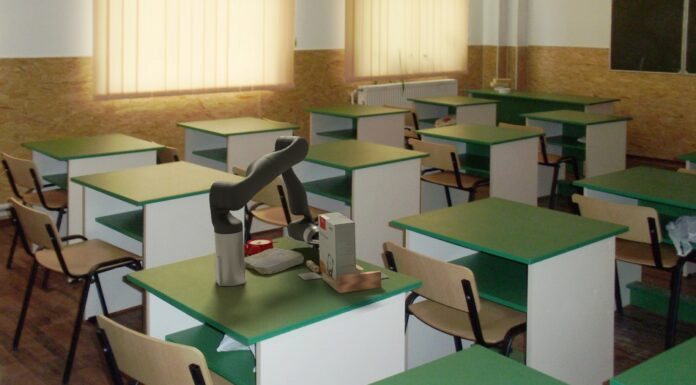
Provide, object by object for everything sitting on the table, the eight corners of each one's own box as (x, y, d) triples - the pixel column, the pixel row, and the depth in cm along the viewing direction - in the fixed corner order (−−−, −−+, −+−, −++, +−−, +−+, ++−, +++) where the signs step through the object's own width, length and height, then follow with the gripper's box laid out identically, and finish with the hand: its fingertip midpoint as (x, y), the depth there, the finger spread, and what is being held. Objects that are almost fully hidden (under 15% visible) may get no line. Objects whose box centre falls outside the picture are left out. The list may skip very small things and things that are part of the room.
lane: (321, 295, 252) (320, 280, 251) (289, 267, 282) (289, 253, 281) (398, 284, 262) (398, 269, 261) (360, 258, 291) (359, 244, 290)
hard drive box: (319, 271, 277) (317, 213, 273) (340, 268, 280) (338, 211, 276) (335, 284, 263) (333, 224, 259) (357, 281, 265) (356, 221, 261)
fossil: (232, 270, 286) (264, 276, 274) (231, 257, 285) (263, 263, 273) (275, 259, 300) (308, 265, 288) (274, 247, 299) (307, 252, 287)
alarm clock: (282, 240, 305) (254, 240, 293) (280, 257, 305) (252, 257, 293) (261, 236, 311) (233, 236, 299) (259, 253, 311) (231, 253, 299)
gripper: (298, 229, 290) (315, 241, 274) (333, 225, 295) (351, 236, 279) (299, 250, 292) (315, 262, 276) (334, 245, 296) (352, 257, 281)
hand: (334, 249), depth 277 cm, fingers closed
